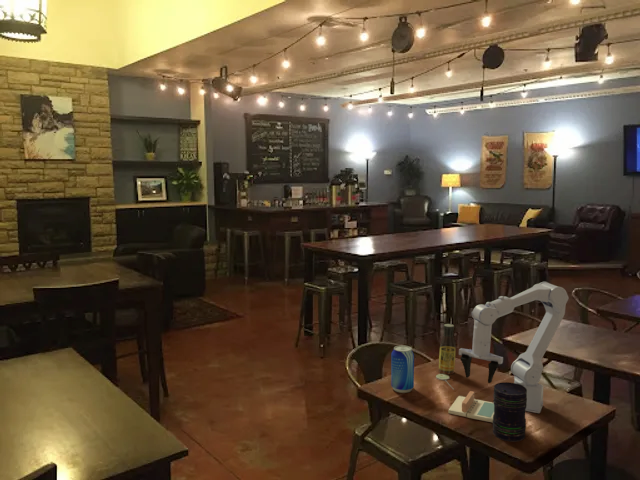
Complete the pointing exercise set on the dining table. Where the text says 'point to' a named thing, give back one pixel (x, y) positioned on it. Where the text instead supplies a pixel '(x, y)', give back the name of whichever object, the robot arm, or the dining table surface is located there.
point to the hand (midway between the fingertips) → (478, 379)
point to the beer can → (402, 369)
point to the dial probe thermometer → (443, 378)
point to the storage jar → (509, 411)
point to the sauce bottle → (447, 351)
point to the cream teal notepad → (482, 411)
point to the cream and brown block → (462, 405)
